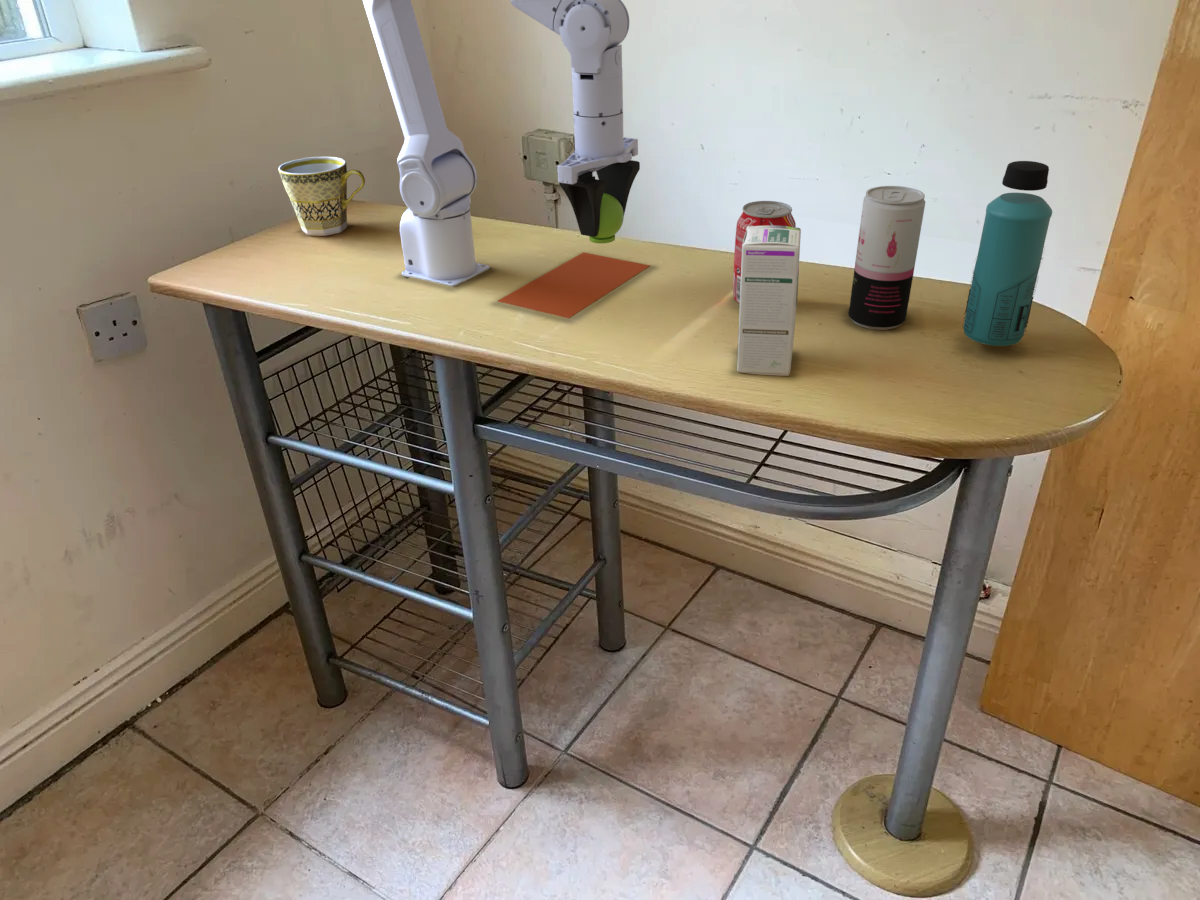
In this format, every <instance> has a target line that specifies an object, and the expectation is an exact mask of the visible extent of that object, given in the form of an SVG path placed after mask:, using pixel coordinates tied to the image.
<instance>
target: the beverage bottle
mask: <svg viewBox="0 0 1200 900" xmlns="http://www.w3.org/2000/svg"><path fill="white" fill-rule="evenodd" d="M1049 172H1050V167H1049V165H1047V164H1045V163H1042V162H1038V161H1032V160H1016V161H1012V162H1011V161H1010V162H1009V163H1008V164H1007V166H1006V169H1005V173H1004V175H1003V177H1002V182H1001V184H1002V185H1003V186H1004V187H1005V188H1009V189H1011V190H1017V191H1028V192H1030V191H1031V192H1033V191H1042V190H1044V189H1046V188H1047V186H1048V183H1049V182H1048V181H1049V180H1048V179H1049ZM1052 216H1053V210H1052V208H1051V206H1050V205H1049V204H1048V202H1047V201H1046V200H1045V199H1044V198H1043V197H1042V196H1040V195H1037V194H1032V193H1026V192H1006V193H1005V192H1004V193H1002V194H1000V195H999V196H996V197H995V198H994V199H993V200H991V201H990V202H989V203H988V204H987V205H986V207H985V216H984V220H983V221H984V222H983V225H982V231H981V237H980V241H979V247H978V251H977V255H976V257H975V260H974V261H975V265H974V267H973V272H972V276H971V277H972V278H971V281H970V288H969V289H968V294H967V300H966V305H965V306H966V307H965V310H964V311H965V312H964V314H965V315H964V317H963V320H962V321H963V322H962V329H963V334H964V335H965V336H966V337H967V338H968V339H969V340H972V341H974V342H977V343H979V344H983V345H987V346H994V347H1006V346H1013V345H1016V344H1018V343H1019V342H1020V341H1021V340H1022V339H1023V337H1024V336H1025V334H1026V332H1027V329H1028V324H1029V320H1030V314H1031V311H1032V305H1033V300H1034V297H1035V296H1034V294H1035V292H1036V289H1037V286H1038V285H1037V284H1038V282H1039V271H1040V268H1041V265H1042V263H1043V262H1042V260H1044V257H1043V254H1044V249H1045V242H1046V239H1047V234H1048V230H1049V225H1050V221H1051V218H1052Z"/></svg>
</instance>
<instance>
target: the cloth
mask: <svg viewBox="0 0 1200 900" xmlns="http://www.w3.org/2000/svg"><path fill="white" fill-rule="evenodd" d="M649 267H651V265H649V264H645V263H640V262H634V261H631V260H623V259H619V258H614V257H610V256H609V257H608V256H605V255H604V256H603V255H599V254H594V253H588V252H585V251H584V252H582V253H580V254H578V255H576V256H574V257H572V258H571V259H569V260H567V261H565V262H564V263H562V264H559V265H558V266H557V267H555V268H553V269H551V270H550V271H548V272H546V273H544V274H543V275H541V276H539V277H537V278H535V279H534V280H531V281H530V282H528V283H526V284H524V285H523V286H521V287H519V288H517V289H516V290H514V291H512V292H510V293H508V294H507V295H504V296H503V297H501V298H500V299H498V300H497V302H498V303H502V304H506V305H510V306H514V307H519V308H523V309H527V310H532V311H536V312H541V313H544V314H549V315H553V316H557V317H561V318H566V319H571V318H572V317H573V316H575V315H577V314H578V313H580V312H581V311H583V310H584V309H586V308H588V307H589V306H591V305H592V304H593V303H595V302H597V301H598V300H599V299H601V298H603V297H604V296H606V295H607V294H609V293H611V292H612V291H614V290H615V289H617V288H618V287H620V286H622V285H623V284H624V283H626V282H628V281H629V280H631V279H632V278H634V277H635V276H637V275H639V274H640V273H641V272H643V271H644V270H646V269H648V268H649Z"/></svg>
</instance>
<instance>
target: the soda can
mask: <svg viewBox="0 0 1200 900" xmlns="http://www.w3.org/2000/svg"><path fill="white" fill-rule="evenodd" d="M792 211H793V208H792V206H791V205H790V204H788V203H785V202H782V201H775V200H757V201H756V200H755V201H750V202H748V203H745V204H744V205H743V206H742V213H741V214H740V215H739V217H738V219H737V221H736V227H735V238H734V253H733V270H732V271H733V274H732V293H733V295H732V296H733V300H734V301H735V302H736V303H737V304H739V305H740V285H741V264H742V244H743V239H744V236H745V233H746V229H747V226H767V225H769V226H772V225H775V226H789V227H796V226H797V225H796V220H795V218H794V216H793V213H792Z"/></svg>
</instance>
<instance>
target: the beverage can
mask: <svg viewBox="0 0 1200 900" xmlns="http://www.w3.org/2000/svg"><path fill="white" fill-rule="evenodd" d="M925 197H926V194H925V193H924V192H923V191H921V190H919V189H917V188H913V187H908V186H900V185H880V186H874V187H871V188H869V189H867V190H866V192H865V196H864V197H863V199H862V200H863V201H862V207H861V213H860V214H861V215H860V222H859V230H858V238H857V245H856V252H855V253H856V254H855V261H854V269H853V277H852V284H851V291H850V300H849V307H848V317H849V319H850V320H851V321H852V322H853V323H854V324H856V325H857V326H859V327H862V328H865V329H869V330H877V331H886V330H892V329H896V328H898V327H899V326H901V325H902V324H904V323H905V322H906V320H907V315H908V309H909V302H910V296H911V290H912V285H913V278H914V273H915V266H916V261H917V254H918V249H919V243H920V238H921V231H922V226H923V220H924V215H925V214H924V212H925V207H926V200H925Z"/></svg>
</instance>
